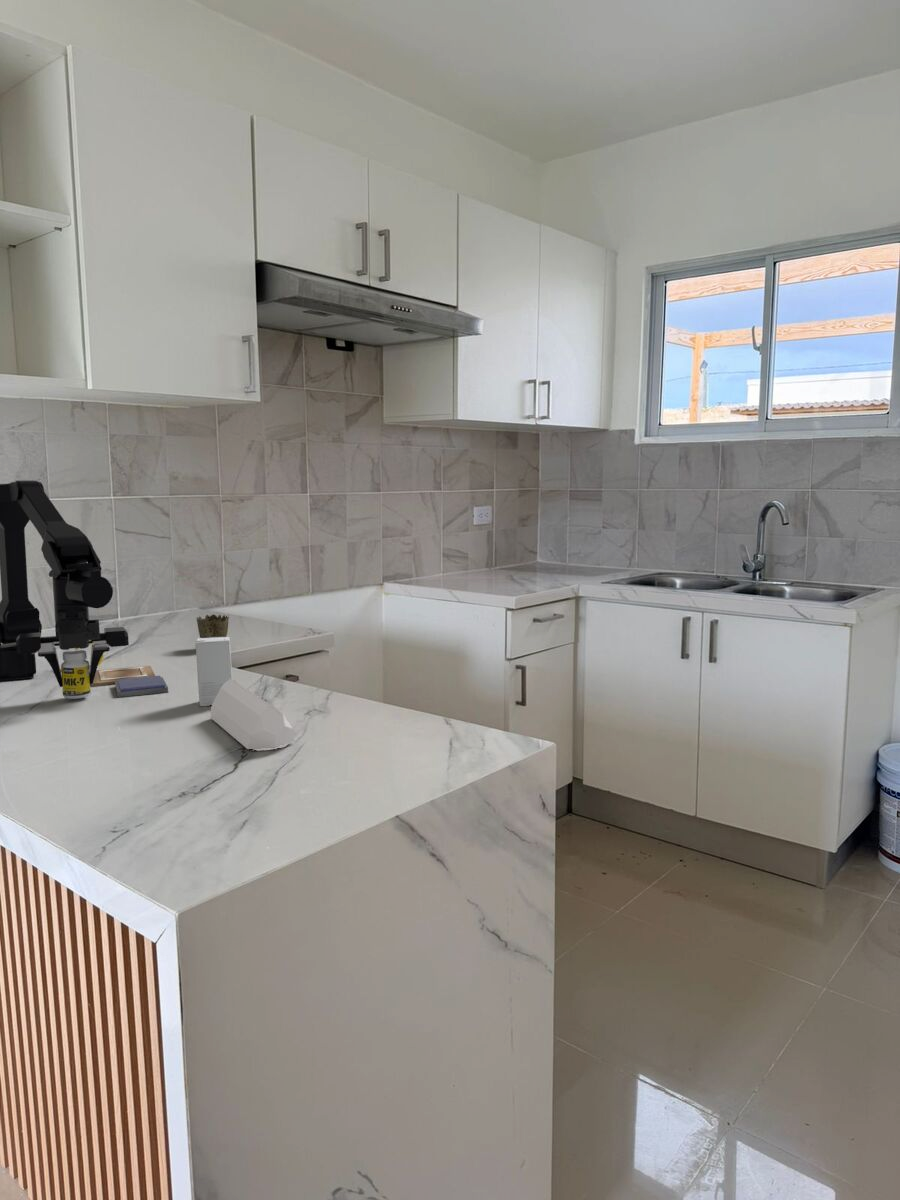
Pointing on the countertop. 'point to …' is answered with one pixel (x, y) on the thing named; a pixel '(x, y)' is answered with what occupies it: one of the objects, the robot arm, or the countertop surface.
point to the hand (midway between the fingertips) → (76, 685)
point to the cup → (213, 626)
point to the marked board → (120, 674)
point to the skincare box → (212, 667)
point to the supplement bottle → (75, 674)
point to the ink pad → (140, 686)
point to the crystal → (250, 718)
